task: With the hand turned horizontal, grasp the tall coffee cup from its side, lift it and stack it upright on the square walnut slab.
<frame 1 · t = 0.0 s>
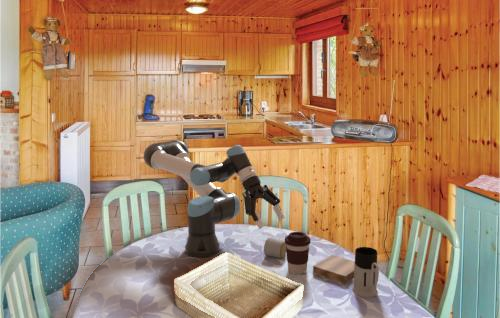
hand: (272, 223, 182), 15 cm above the table, tool tilted 35°, fingers open, 13 cm apart
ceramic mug: (276, 255, 188), on the table
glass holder: (367, 295, 153), on the table
walnut slab: (338, 272, 171), on the table
coffee cup: (297, 271, 173), on the table
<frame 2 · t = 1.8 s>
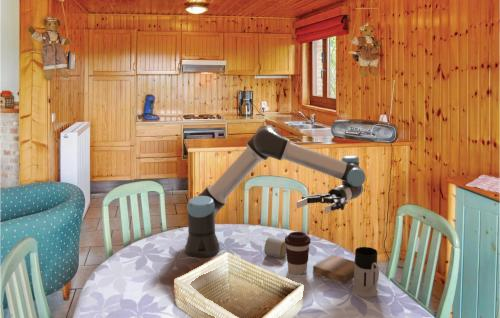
hand: (310, 207, 176), 23 cm above the table, tool horizontal, fingers open, 13 cm apart
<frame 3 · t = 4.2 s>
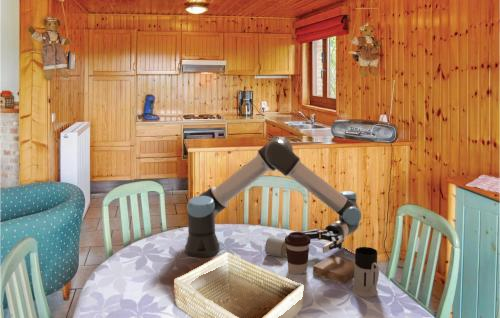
hand: (309, 245, 176), 8 cm above the table, tool horizontal, fingers open, 13 cm apart
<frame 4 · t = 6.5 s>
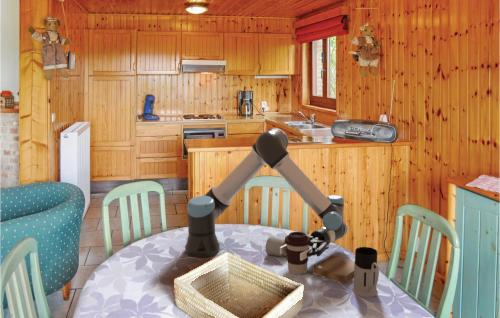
hand: (290, 253, 168), 9 cm above the table, tool horizontal, fingers closed on coffee cup, 9 cm apart
coffee cup: (297, 271, 173), on the table, touching gripper
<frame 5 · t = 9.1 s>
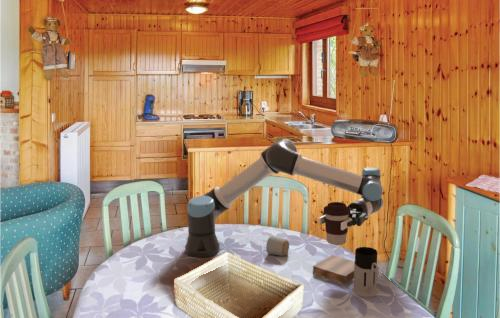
hand: (330, 223, 164), 21 cm above the table, tool horizontal, fingers closed on coffee cup, 9 cm apart
coffee cup: (336, 242, 168), point 12 cm above the table, touching gripper
when the fingers open (13 cm above the table, at t = 11.5 s): coffee cup moves 1 cm, resting on walnut slab.
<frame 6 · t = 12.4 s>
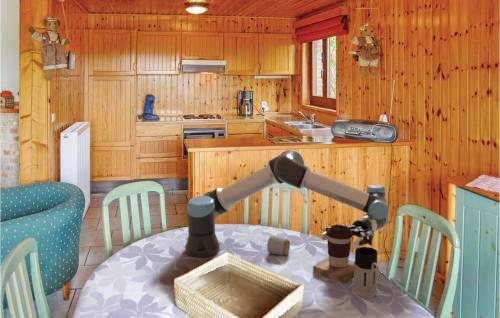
hand: (337, 241, 166), 13 cm above the table, tool horizontal, fingers open, 13 cm apart
coffee cup: (338, 264, 171), point 3 cm above the table, touching walnut slab
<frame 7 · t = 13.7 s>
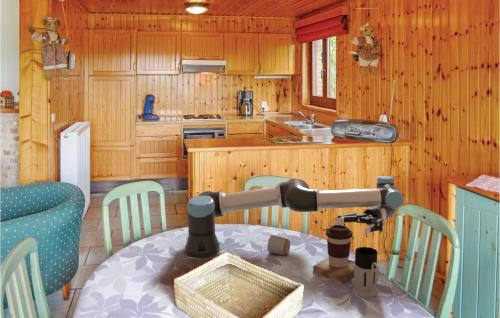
hand: (349, 227, 176), 15 cm above the table, tool horizontal, fingers open, 13 cm apart
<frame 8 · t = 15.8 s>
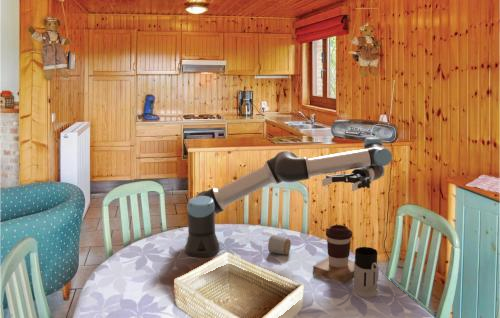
hand: (337, 185, 177), 32 cm above the table, tool horizontal, fingers open, 13 cm apart
at the end: coffee cup inside the target area on the walnut slab (0.4 cm from its centre), point 2.8 cm above the walnut slab's base; coffee cup tilted 0°; the gripper is holding nothing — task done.
